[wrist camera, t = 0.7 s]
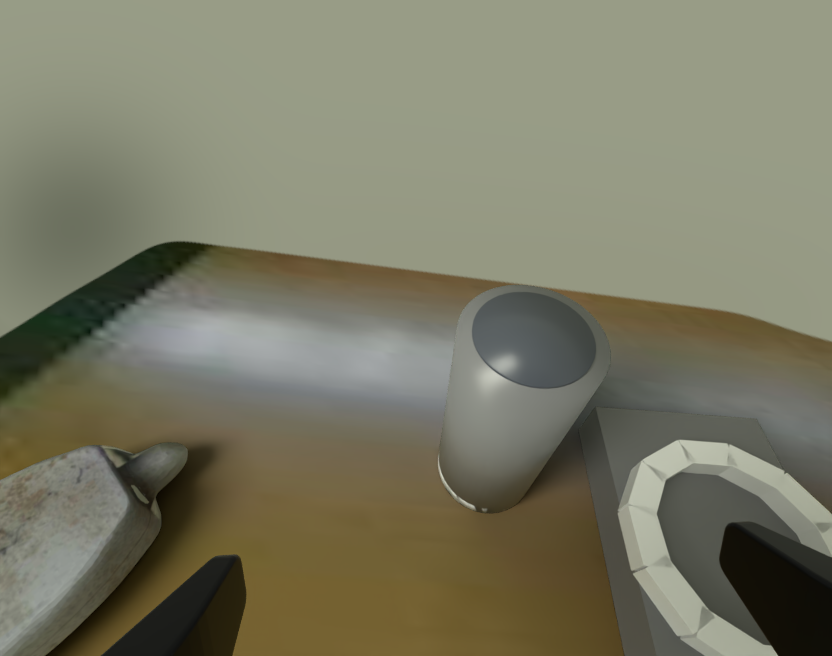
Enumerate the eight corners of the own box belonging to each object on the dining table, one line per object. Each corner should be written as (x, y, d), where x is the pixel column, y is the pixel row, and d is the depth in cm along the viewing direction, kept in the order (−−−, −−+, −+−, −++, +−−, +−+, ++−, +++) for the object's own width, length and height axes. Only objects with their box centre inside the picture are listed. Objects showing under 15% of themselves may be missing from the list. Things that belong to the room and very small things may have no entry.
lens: (549, 486, 23) (647, 364, 13) (467, 531, 21) (513, 427, 12) (494, 405, 26) (541, 262, 17) (419, 438, 25) (427, 301, 15)
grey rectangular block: (881, 776, 16) (1003, 805, 12) (638, 749, 16) (696, 771, 13) (727, 441, 25) (775, 408, 21) (575, 429, 25) (599, 395, 22)
